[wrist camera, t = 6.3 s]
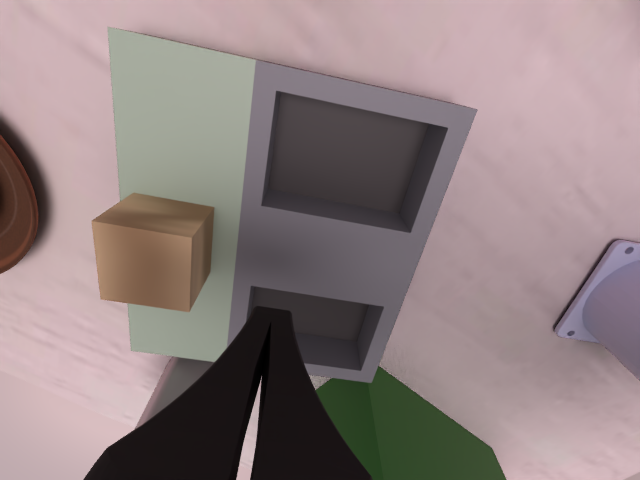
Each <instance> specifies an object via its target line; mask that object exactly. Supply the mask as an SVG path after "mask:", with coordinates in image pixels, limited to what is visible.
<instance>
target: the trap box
mask: <svg viewBox="0 0 640 480" xmlns="http://www.w3.org/2000/svg"><path fill="white" fill-rule="evenodd" d="M108 40H109V54H110V68H111V81H112V95H113V109H114V123H115V137H116V150H117V164H118V178H119V192H120V201H122V200H123V199H125V198H126V197H128V196H129V195H131V194H132V193H138V194H144V195H150V196H155V197H161V198H166V199H172V200H178V201H183V202H189V203H194V204H200V205H206V206H211V207H214V222H213V238H212V254H211V270H210V274H209V276H208V278H207V280H206V282H205V283H204V285H203V287H202V289H201V291H200V293H199V295H198V297H197V299H196V301H195V303H194V305H193V307H192V308H191V310H190V312H183V311H177V310H170V309H163V308H156V307H149V306H143V305H136V304H129V303H128V316H129V330H130V344H131V351H136V352H144V353H151V354H159V355H166V356H174V357H181V358H189V359H196V360H203V361H211V362H215V361H216V360H217V359H218V358H219V357H220V355H221V354H222V353H223V352H224V351H225V350H226V348H227V347H228V346H229V345H230V344H231V342H232V341H233V340H234V338H235V337H236V336H237V334H238V333H239V332H240V330H241V329H242V327H243V326H244V325H245V323H246V321H247V320H248V318H249V317H250V315H251V313H252V311H253V309H254V307H256V306H263V307H269V308H276V309H282V310H289V311H290V312H291V313H292V320H293V326H294V331H295V336H296V340H297V343H298V346H299V350H300V353H301V356H302V359H303V362H304V365H305V367H306V370H307V372H308V375H315V376H323V377H330V378H337V379H345V380H352V381H360V382H367V383H372V381H373V378H374V376H375V373H376V370H377V368H378V365H379V363H380V360H381V358H382V355H383V352H384V350H385V347H386V345H387V342H388V339H389V337H390V334H391V332H392V329H393V327H394V324H395V321H396V319H397V316H398V314H399V311H400V308H401V306H402V303H403V301H404V298H405V296H406V293H407V290H408V288H409V285H410V283H411V280H412V278H413V275H414V272H415V270H416V267H417V265H418V262H419V259H420V257H421V254H422V252H423V249H424V247H425V244H426V241H427V239H428V236H429V234H430V231H431V228H432V226H433V223H434V221H435V218H436V216H437V213H438V210H439V208H440V205H441V203H442V200H443V198H444V195H445V192H446V190H447V187H448V185H449V182H450V179H451V177H452V174H453V172H454V169H455V167H456V164H457V161H458V159H459V156H460V154H461V151H462V148H463V146H464V143H465V141H466V138H467V136H468V133H469V130H470V128H471V125H472V123H473V120H474V117H475V115H476V112H477V109H473V108H469V107H466V106H462V105H458V104H454V103H449V102H445V101H441V100H436V99H432V98H427V97H423V96H418V95H414V94H409V93H405V92H400V91H396V90H391V89H387V88H383V87H378V86H374V85H369V84H365V83H360V82H356V81H351V80H347V79H342V78H338V77H333V76H329V75H325V74H320V73H316V72H311V71H307V70H302V69H298V68H293V67H289V66H284V65H280V64H275V63H271V62H267V61H262V60H258V59H253V58H249V57H244V56H240V55H235V54H231V53H226V52H222V51H218V50H213V49H209V48H204V47H200V46H195V45H191V44H186V43H182V42H177V41H173V40H168V39H164V38H160V37H155V36H151V35H146V34H142V33H137V32H132V31H127V30H122V29H116V28H111V27H108Z"/></svg>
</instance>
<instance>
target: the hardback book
mask: <svg viewBox="0 0 640 480" xmlns="http://www.w3.org/2000/svg"><path fill="white" fill-rule="evenodd" d="M316 393H317V395H318V397H319V399H320V400H321V402H322V404H323V406H324V408H325V410H326V412H327V413H328V415H329V417H330V418H331V420H332V421H333V423H334V425H335V426H336V428H337V430H338V431H339V433H340V434H341V436H342V437H343V439H344V440H345V442H346V443H347V445H348V446H349V448H350V449H351V450H352V452H353V453H354V454H355V456H356V457H357V458H358V460H359V461H360V462H361V464H362V465H363V466H364V467H365V469H366V470H367V471H368V473H369V474H370V475H371V476H372V479H373V480H506V478H505V475H504V473H503V471H502V469H501V467H500V465H499V462H498V460H497V458H496V456H495V454H494V452H493V449H492V448H491V447H490V446H488V445H487V444H485V443H484V442H483V441H481V440H480V439H479V438H477V437H476V436H474V435H473V434H472V433H470V432H469V431H468V430H466V429H465V428H463V427H462V426H461V425H459V424H458V423H457V422H455V421H454V420H452V419H451V418H450V417H448V416H447V415H445V414H444V413H443V412H441V411H440V410H439V409H437V408H436V407H434V406H433V405H432V404H430V403H429V402H428V401H426V400H425V399H423V398H422V397H421V396H419V395H418V394H417V393H415V392H414V391H412V390H411V389H410V388H408V387H407V386H406V385H404V384H403V383H401V382H400V381H399V380H397V379H396V378H394V377H393V376H392V375H390V374H389V373H388V372H386V371H385V370H383V369H382V368H381V367H379V366H378V368H377V370H376V373H375V376H374V378H373V381H372V383H367V382H360V381H352V380H345V379H337V378H331V379H330V380H329V381H327V382H326V383H325V384H323V385H322V386H321V387H319V388H318V389H317V390H316Z"/></svg>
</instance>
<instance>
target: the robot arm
mask: <svg viewBox="0 0 640 480" xmlns="http://www.w3.org/2000/svg"><path fill="white" fill-rule="evenodd" d="M627 248H628V249H627ZM626 249H627V250H626ZM555 333H556V334H557V335H558V336H559V337H563V338H570V339H576V340H582V341H589V342H595V343H601V344H602V345H603V346H604V347H605V348H606V349H607V350H608V351H609V352H610V353H611V354H612V355H614V356H615V357H616V358H617V359H618V360H619V361H620V362H621V363H622V364H623V365H624V366H625V367H626V368H627V369H628V370H629V371H630V372H631V373H632V374H633V375H634V376H635V377H636V378H637V379H638V380H639V381H640V243H636V242H631V241H626V240H618V241H615V242H614V243H612V245H611V246H610V247H609V249H608V250H607V252H606V253H605V255H604V256H603V258H602V259H601V261H600V262H599V264H598V265H597V267H596V268H595V270H594V271H593V273H592V274H591V276H590V277H589V279H588V280H587V282H586V283H585V285H584V286H583V288H582V289H581V291H580V292H579V294H578V295H577V297H576V298H575V300H574V301H573V303H572V304H571V305H570V307H569V308H568V310H567V311H566V313H565V314H564V316H563V317H562V319H561V320H560V322H559V323H558V325H557V326H556V328H555ZM261 376H262V382H261V394H260V406H259V418H258V431H257V440H256V448H255V454H254V460H253V466H252V473H251V478H250V480H373V479H372V476H371V475H370V474H369V473H368V471H367V470H366V469H365V467H364V466H363V465H362V464H361V462H360V461H359V460H358V458H357V457H356V456H355V454H354V453H353V452H352V450H351V449H350V448H349V446H348V445H347V443H346V442H345V440H344V439H343V437H342V436H341V434H340V433H339V431H338V430H337V428H336V426H335V425H334V423H333V421H332V420H331V418H330V417H329V415H328V413H327V412H326V410H325V408H324V406H323V404H322V402H321V400H320V399H319V397H318V395H317V393H316V390H315V388H314V386H313V384H312V382H311V380H310V377H309V375H308V372H307V370H306V367H305V365H304V362H303V359H302V356H301V353H300V350H299V346H298V343H297V340H296V336H295V331H294V326H293V320H292V313H291V312H290V311H289V310H282V309H276V308H269V307H263V306H256V307H254V309H253V311H252V313H251V315H250V317H249V318H248V320H247V321H246V323H245V325H244V326H243V327H242V329H241V330H240V332H239V333H238V334H237V336H236V337H235V338H234V340H233V341H232V342H231V344H230V345H229V346H228V347H227V348H226V350H225V351H224V352H223V353H222V354H221V355H220V357H219V358H218V359H217V360H216V361H215V362H214V363H213V364H212V366H211V367H210V368H209V369H208V370H207V371H206V372H205V373H204V374H203V375H202V376H201V377H200V378H199V379H198V380H197V381H195V382H194V383H193V384H192V385H191V386H190V387H189V388H188V389H187V390H185V391H184V392H183V393H182V394H181V395H180V396H179V397H177V398H176V399H175V400H174V401H173V402H171V403H170V404H169V405H167V406H166V407H165V408H164V409H162V410H161V411H160V412H158V413H157V414H156V415H154V416H153V417H152V418H150V419H149V420H148V421H146V422H145V423H144V424H142V425H141V426H139V427H138V428H136V429H135V430H133V431H132V432H131V433H129V434H127V435H126V436H125V437H123V438H121V439H120V440H118V441H117V442H115V443H114V444H112V445H111V446H109V447H108V448H107V449H106V450H105V451H104V452H103V454H102V455H101V456H100V457H99V459H98V460H97V462H96V463H95V464H94V465H93V467H92V468H91V470H90V471H89V472H88V474H87V475H86V477H85V478H84V480H236V477H237V472H238V467H239V462H240V457H241V452H242V446H243V442H244V438H245V434H246V430H247V426H248V423H249V419H250V416H251V412H252V409H253V405H254V402H255V398H256V394H257V391H258V387H259V384H260V380H261Z"/></svg>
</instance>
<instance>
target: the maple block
mask: <svg viewBox="0 0 640 480" xmlns="http://www.w3.org/2000/svg"><path fill="white" fill-rule="evenodd" d="M213 222H214V207H211V206H206V205H200V204H194V203H189V202H183V201H178V200H172V199H166V198H161V197H155V196H150V195H144V194H138V193H132V194H131V195H129V196H128V197H126V198H125V199H123V200H122V201H120V202H119V203H117V204H116V205H114V206H113V207H111V208H110V209H108V210H107V211H106V212H104V213H103V214H101V215H100V216H98V217H97V218H95V219H94V220H92V229H93V237H94V246H95V255H96V263H97V272H98V280H99V289H100V297H101V299H102V300H109V301H116V302H122V303H129V304H136V305H143V306H149V307H156V308H163V309H170V310H177V311H183V312H190V310H191V308H192V307H193V305H194V303H195V301H196V299H197V297H198V295H199V293H200V291H201V289H202V287H203V285H204V283H205V282H206V280H207V278H208V276H209V274H210V270H211V254H212V238H213Z"/></svg>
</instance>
